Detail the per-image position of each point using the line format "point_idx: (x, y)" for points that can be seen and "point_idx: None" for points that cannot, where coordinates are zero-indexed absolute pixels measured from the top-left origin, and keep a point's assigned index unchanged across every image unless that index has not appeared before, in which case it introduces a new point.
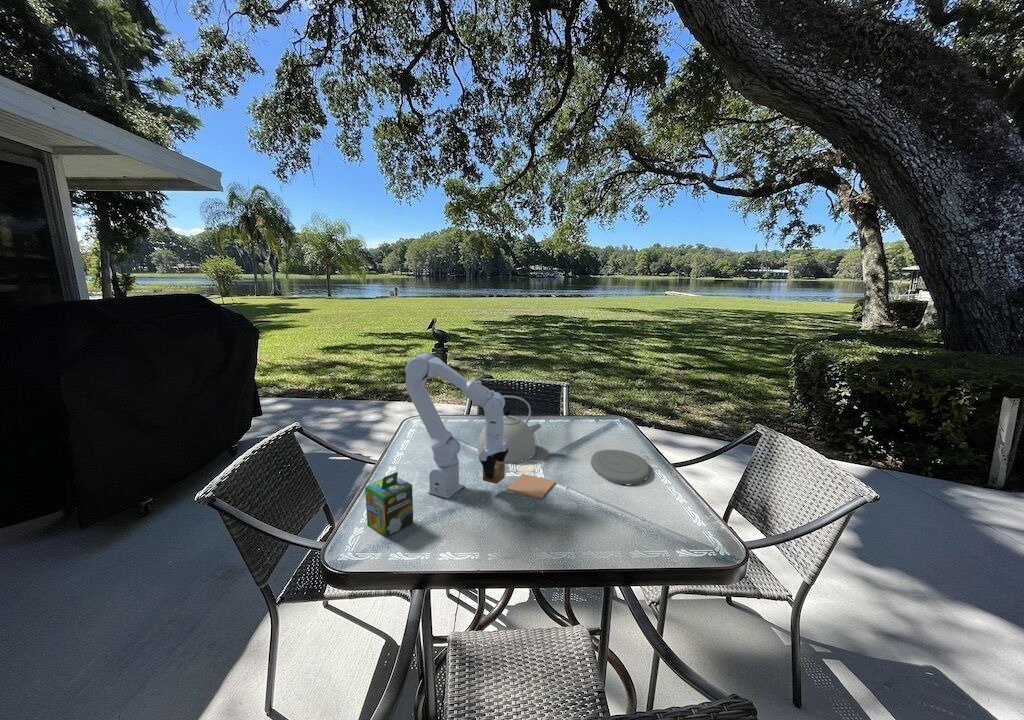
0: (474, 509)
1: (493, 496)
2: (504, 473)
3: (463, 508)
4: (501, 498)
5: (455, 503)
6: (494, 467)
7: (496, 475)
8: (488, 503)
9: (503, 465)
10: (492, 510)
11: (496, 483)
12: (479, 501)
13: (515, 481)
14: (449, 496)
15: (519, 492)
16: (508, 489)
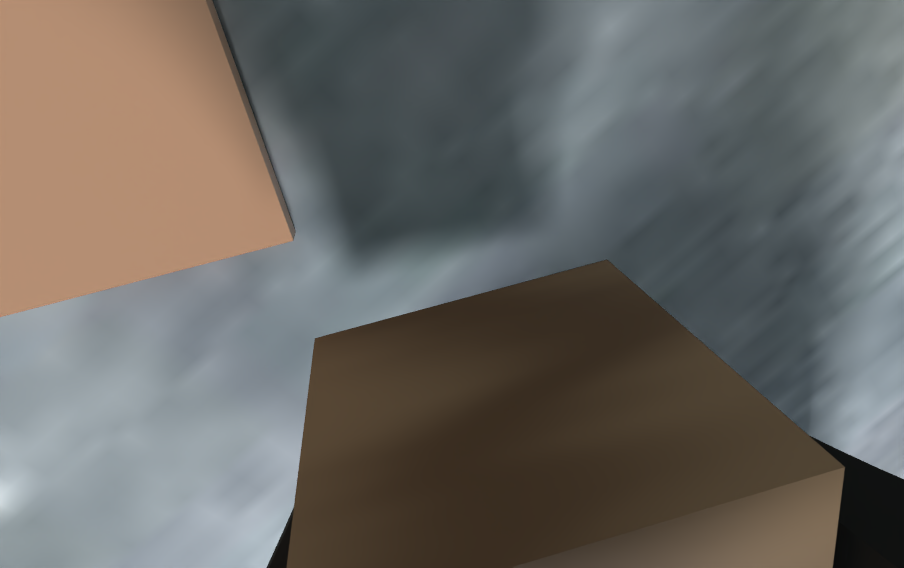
0: (874, 190)
1: (535, 239)
2: (312, 387)
3: (893, 283)
4: (515, 128)
5: (841, 394)
6: (874, 553)
7: (698, 354)
8: (702, 166)
9: (374, 548)
10: (820, 7)
11: (613, 271)
12: (711, 271)
13: (22, 291)
14: None
15: (213, 16)
16: (284, 207)
